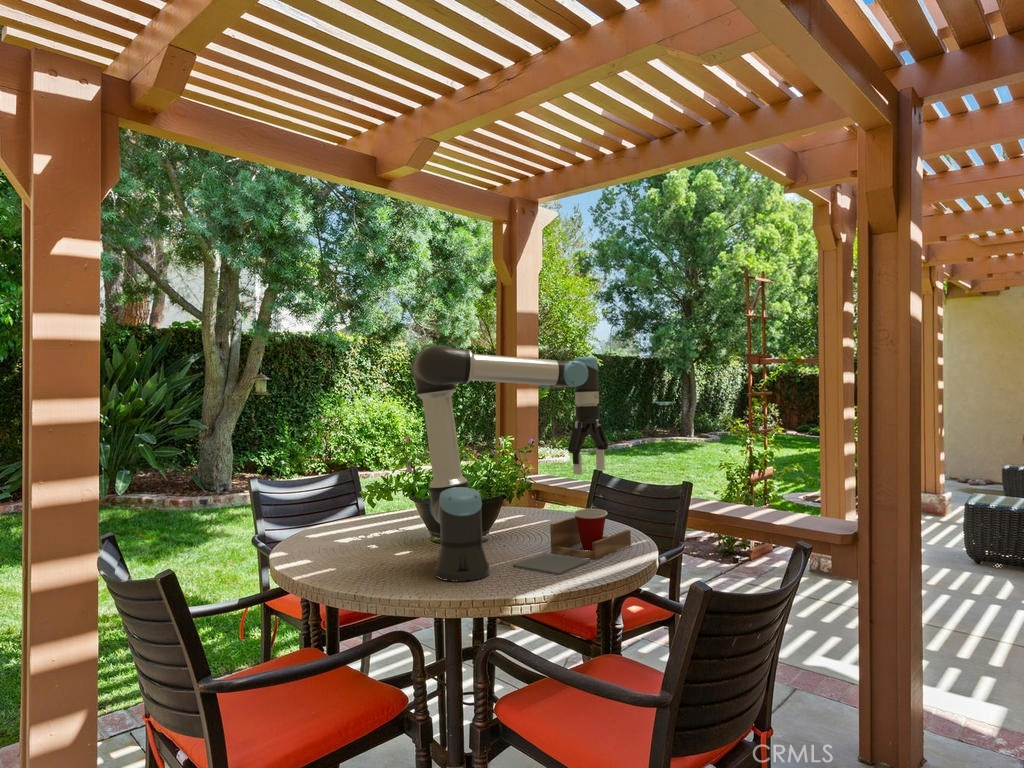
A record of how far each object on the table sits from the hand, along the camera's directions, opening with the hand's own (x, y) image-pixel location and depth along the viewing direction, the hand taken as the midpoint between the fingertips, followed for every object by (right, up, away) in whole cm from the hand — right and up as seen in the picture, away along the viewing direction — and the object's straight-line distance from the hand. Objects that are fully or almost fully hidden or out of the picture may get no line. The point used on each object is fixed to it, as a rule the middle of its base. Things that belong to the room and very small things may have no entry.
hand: (589, 472), depth 208 cm
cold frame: (+1, -24, 0) cm, 25 cm away
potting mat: (-13, -25, -18) cm, 33 cm away
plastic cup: (+1, -25, 0) cm, 25 cm away
